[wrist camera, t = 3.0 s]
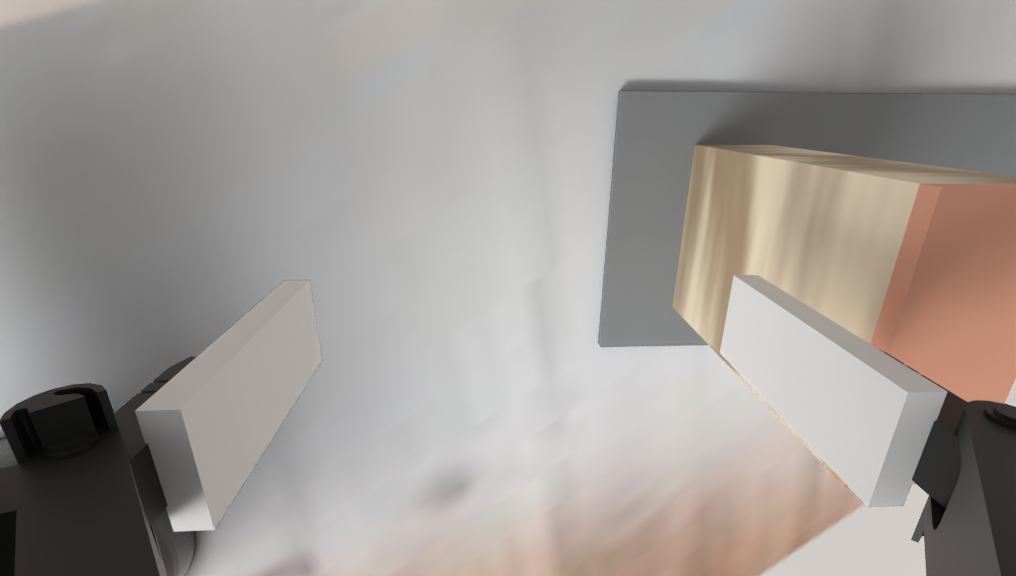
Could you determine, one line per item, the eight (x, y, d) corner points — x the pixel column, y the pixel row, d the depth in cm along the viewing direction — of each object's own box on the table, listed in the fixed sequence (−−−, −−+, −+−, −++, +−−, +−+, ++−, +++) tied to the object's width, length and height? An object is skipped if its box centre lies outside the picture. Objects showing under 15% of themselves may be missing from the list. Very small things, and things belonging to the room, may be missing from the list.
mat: (598, 342, 29) (600, 347, 28) (618, 91, 24) (622, 90, 23) (1005, 334, 30) (1015, 339, 30) (1104, 95, 25) (1118, 95, 25)
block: (672, 307, 28) (844, 486, 15) (694, 144, 24) (941, 187, 11) (739, 306, 28) (969, 482, 15) (770, 144, 25) (1098, 187, 12)
